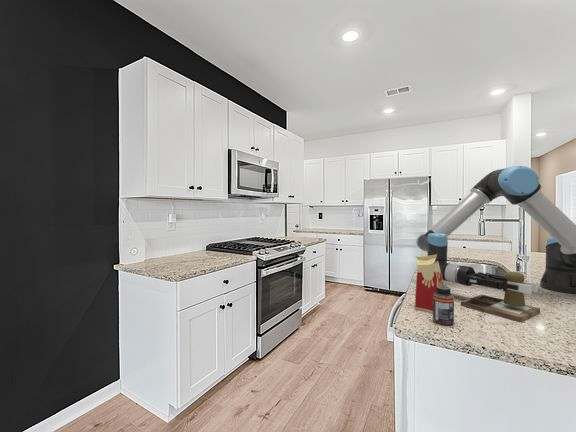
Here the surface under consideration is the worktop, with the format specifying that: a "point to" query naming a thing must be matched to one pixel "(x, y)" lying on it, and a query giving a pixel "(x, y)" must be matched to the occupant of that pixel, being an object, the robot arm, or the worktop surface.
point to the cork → (514, 296)
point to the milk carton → (427, 282)
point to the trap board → (500, 308)
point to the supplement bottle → (443, 306)
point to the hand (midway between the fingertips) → (534, 288)
